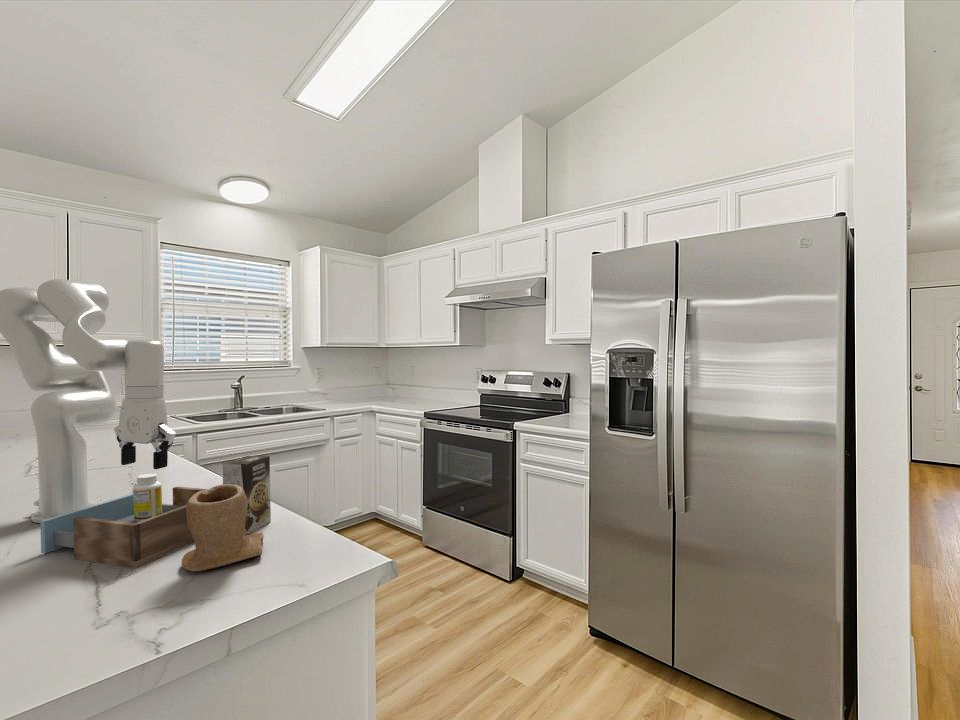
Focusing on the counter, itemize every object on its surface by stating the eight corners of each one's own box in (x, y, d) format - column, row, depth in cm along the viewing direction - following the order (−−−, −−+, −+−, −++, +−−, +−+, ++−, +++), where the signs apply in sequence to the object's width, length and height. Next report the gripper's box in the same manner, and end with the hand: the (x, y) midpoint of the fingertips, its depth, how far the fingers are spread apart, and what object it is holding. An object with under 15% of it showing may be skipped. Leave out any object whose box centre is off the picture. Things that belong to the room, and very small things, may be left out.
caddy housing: (74, 559, 101) (73, 518, 100) (177, 519, 124) (176, 486, 123) (135, 568, 96) (134, 525, 96) (230, 525, 119) (229, 491, 119)
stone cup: (185, 584, 89) (183, 500, 89) (179, 561, 99) (177, 486, 99) (275, 562, 98) (273, 486, 98) (261, 543, 108) (260, 474, 107)
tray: (41, 552, 103) (40, 520, 103) (148, 515, 126) (147, 489, 126) (98, 561, 99) (98, 528, 99) (199, 520, 122) (198, 493, 122)
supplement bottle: (157, 513, 122) (156, 471, 122) (165, 518, 118) (164, 474, 118) (130, 519, 118) (129, 476, 117) (138, 524, 114) (137, 479, 114)
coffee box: (247, 535, 113) (246, 463, 112) (222, 533, 114) (220, 462, 113) (272, 521, 121) (270, 455, 121) (248, 520, 123) (247, 454, 122)
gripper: (100, 392, 116) (100, 465, 117) (158, 397, 111) (158, 473, 112) (131, 389, 123) (131, 458, 124) (187, 393, 118) (187, 465, 119)
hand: (144, 465), depth 118 cm, fingers open, 9 cm apart
